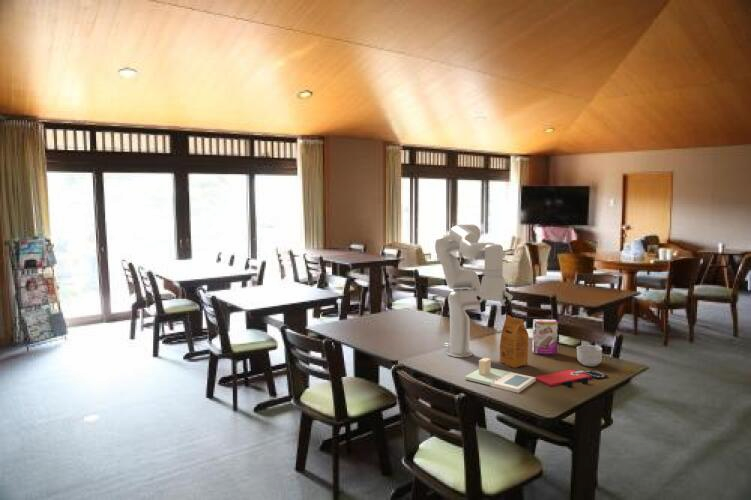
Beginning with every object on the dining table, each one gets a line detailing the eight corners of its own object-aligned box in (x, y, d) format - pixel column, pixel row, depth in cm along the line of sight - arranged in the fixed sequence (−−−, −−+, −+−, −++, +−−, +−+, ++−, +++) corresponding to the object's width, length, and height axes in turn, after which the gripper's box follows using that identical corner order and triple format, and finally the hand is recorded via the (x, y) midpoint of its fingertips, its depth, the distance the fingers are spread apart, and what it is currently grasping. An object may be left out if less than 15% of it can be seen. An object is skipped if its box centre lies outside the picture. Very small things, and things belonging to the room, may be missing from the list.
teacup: (590, 369, 231) (590, 352, 230) (570, 363, 240) (571, 346, 239) (611, 365, 237) (612, 347, 236) (591, 358, 246) (592, 342, 246)
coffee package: (513, 358, 247) (514, 313, 245) (530, 366, 235) (531, 318, 233) (495, 361, 243) (496, 315, 241) (512, 369, 232) (513, 320, 229)
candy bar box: (533, 354, 253) (534, 321, 252) (531, 351, 258) (532, 319, 257) (557, 355, 252) (558, 321, 251) (555, 352, 257) (555, 319, 256)
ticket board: (490, 386, 211) (490, 382, 211) (508, 375, 224) (508, 371, 224) (518, 392, 203) (518, 388, 203) (535, 381, 217) (535, 377, 216)
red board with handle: (611, 379, 219) (584, 369, 232) (612, 372, 219) (584, 363, 232) (556, 391, 207) (531, 380, 220) (557, 384, 206) (531, 373, 220)
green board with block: (464, 379, 218) (465, 362, 218) (484, 368, 231) (484, 353, 231) (489, 385, 211) (489, 367, 210) (507, 374, 224) (508, 357, 224)
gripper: (471, 272, 224) (470, 312, 225) (508, 276, 212) (507, 317, 214) (479, 270, 229) (479, 309, 231) (516, 274, 218) (515, 314, 219)
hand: (493, 313), depth 222 cm, fingers open, 9 cm apart
